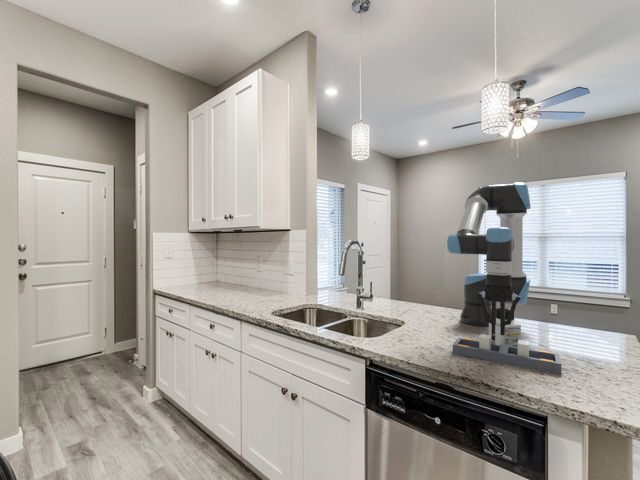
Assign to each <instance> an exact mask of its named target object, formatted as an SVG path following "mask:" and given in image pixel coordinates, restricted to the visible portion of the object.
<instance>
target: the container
mask: <svg viewBox="0 0 640 480" xmlns="http://www.w3.org/2000/svg"><path fill="white" fill-rule="evenodd" d="M510 309H511V308H507V307H505V321H506V320H507V319H508V316H509V313H510ZM515 313H516V311H514V315H513V318H512V321H511V324H510V325H505V334H504V335H501V345H507V346H513V347H516V346H518V340H522V325H521V324H520V323H517V322H516V321H515V318H516V316H515ZM496 324H500V307H498V308H497V307H496ZM488 335H491V343H495V334H492V325H491V323H489V326H488Z"/></svg>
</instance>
